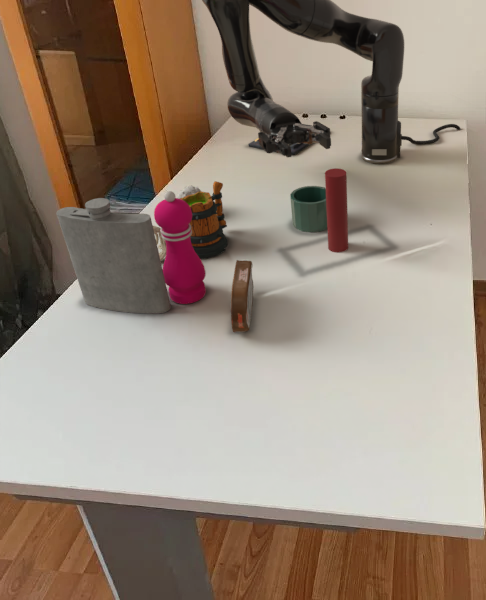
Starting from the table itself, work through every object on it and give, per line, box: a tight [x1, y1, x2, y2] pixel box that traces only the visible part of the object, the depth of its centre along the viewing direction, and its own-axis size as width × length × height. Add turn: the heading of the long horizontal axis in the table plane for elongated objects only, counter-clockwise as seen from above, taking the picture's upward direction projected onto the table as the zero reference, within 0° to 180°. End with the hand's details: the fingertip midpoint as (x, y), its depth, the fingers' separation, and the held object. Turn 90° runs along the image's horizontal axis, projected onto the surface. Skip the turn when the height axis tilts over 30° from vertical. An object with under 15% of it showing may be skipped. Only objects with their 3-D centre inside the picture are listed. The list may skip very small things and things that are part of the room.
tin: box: [230, 259, 254, 333], centre depth 104 cm, size 15×3×8 cm, turn 5°
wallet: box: [248, 123, 318, 156], centre depth 175 cm, size 20×2×15 cm
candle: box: [324, 167, 349, 253], centre depth 120 cm, size 4×4×16 cm
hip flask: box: [55, 197, 172, 314], centre depth 103 cm, size 16×4×20 cm, turn 79°
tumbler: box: [289, 185, 327, 233], centre depth 132 cm, size 9×9×7 cm
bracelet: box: [152, 224, 166, 262], centre depth 118 cm, size 4×8×8 cm, turn 151°
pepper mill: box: [153, 190, 207, 305], centre depth 106 cm, size 7×7×20 cm
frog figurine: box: [176, 185, 202, 199], centre depth 135 cm, size 6×7×7 cm
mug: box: [180, 180, 229, 260], centre depth 124 cm, size 13×10×12 cm
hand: (309, 148), depth 124 cm, fingers open, 8 cm apart
